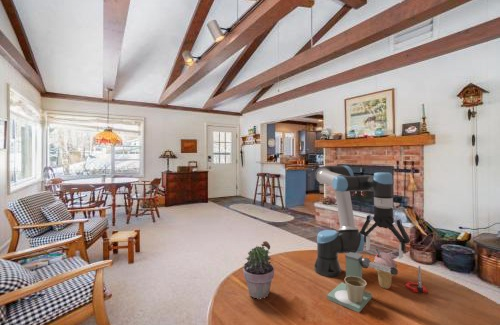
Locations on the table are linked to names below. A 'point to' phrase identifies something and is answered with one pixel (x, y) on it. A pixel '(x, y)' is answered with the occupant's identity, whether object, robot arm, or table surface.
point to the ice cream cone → (384, 276)
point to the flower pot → (355, 288)
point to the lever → (378, 266)
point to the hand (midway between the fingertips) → (383, 253)
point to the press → (340, 291)
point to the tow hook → (417, 284)
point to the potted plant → (259, 271)
